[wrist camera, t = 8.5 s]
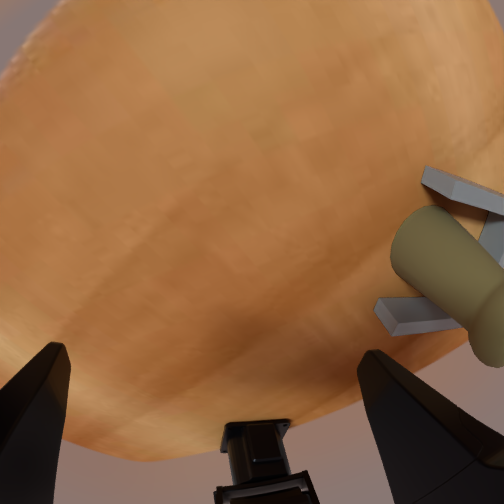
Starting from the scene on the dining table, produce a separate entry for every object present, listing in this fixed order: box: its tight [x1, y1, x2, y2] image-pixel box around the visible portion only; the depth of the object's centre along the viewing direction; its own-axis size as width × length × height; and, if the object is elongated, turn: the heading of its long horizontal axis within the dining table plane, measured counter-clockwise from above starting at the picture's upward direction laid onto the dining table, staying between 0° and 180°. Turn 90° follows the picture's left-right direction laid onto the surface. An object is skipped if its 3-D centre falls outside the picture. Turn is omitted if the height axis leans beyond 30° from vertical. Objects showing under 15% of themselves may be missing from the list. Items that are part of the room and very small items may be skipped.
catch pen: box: [373, 166, 504, 336], centre depth 20 cm, size 11×10×3 cm
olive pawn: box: [390, 205, 504, 368], centre depth 16 cm, size 6×6×11 cm
